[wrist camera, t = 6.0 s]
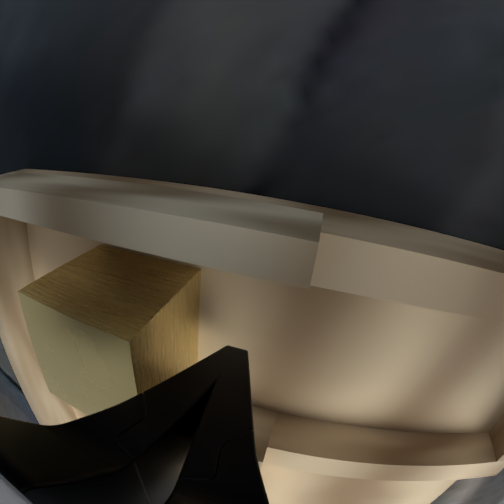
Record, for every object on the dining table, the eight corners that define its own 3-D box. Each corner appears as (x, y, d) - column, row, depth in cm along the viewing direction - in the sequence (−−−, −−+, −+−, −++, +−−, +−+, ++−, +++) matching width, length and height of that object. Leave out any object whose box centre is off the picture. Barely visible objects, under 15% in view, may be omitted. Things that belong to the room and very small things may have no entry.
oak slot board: (578, 274, 7) (623, 314, 4) (398, 518, 14) (397, 554, 11) (25, 168, 11) (-32, 183, 8) (86, 436, 19) (64, 463, 16)
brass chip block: (201, 269, 10) (129, 341, 6) (197, 365, 11) (147, 444, 7) (100, 244, 10) (17, 290, 7) (110, 334, 12) (49, 392, 8)
